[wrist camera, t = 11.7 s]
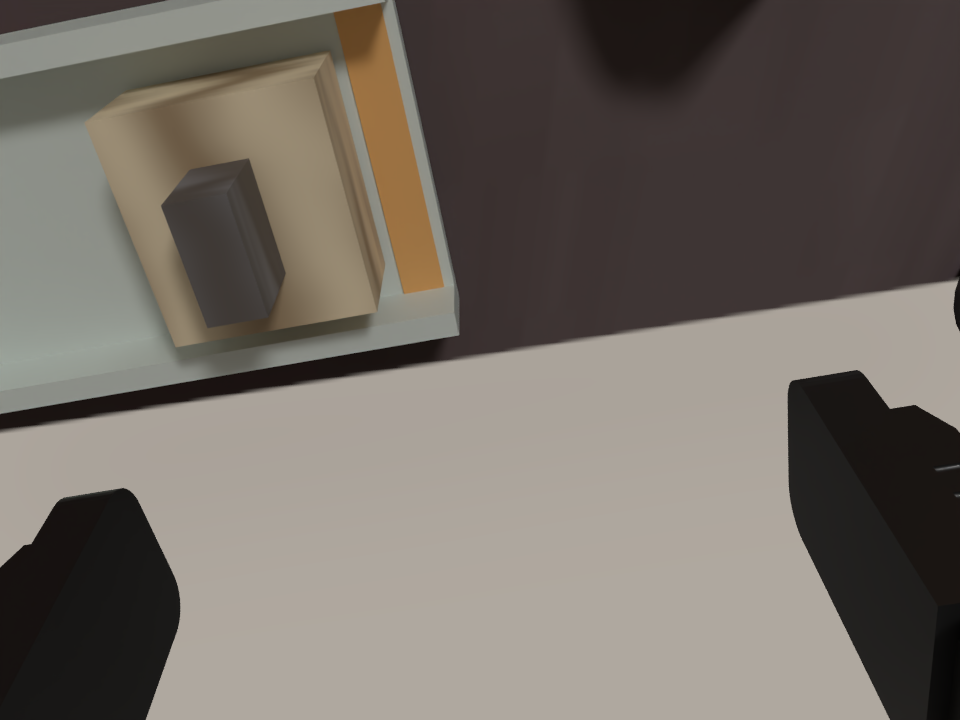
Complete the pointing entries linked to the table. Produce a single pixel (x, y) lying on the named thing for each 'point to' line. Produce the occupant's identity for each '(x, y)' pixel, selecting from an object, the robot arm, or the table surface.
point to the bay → (102, 230)
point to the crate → (244, 198)
